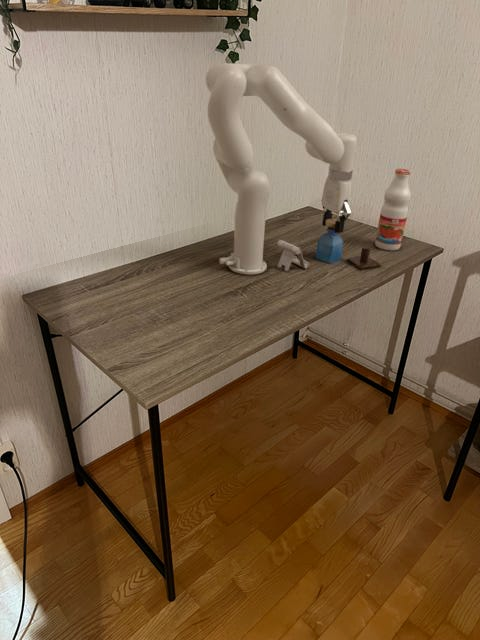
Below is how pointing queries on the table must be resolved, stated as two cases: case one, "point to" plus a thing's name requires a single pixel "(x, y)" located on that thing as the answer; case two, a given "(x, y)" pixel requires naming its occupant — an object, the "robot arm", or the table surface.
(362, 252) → the stand
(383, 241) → the white yogurt drink bottle
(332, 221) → the chip
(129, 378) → the table surface
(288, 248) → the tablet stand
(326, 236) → the perfume bottle
